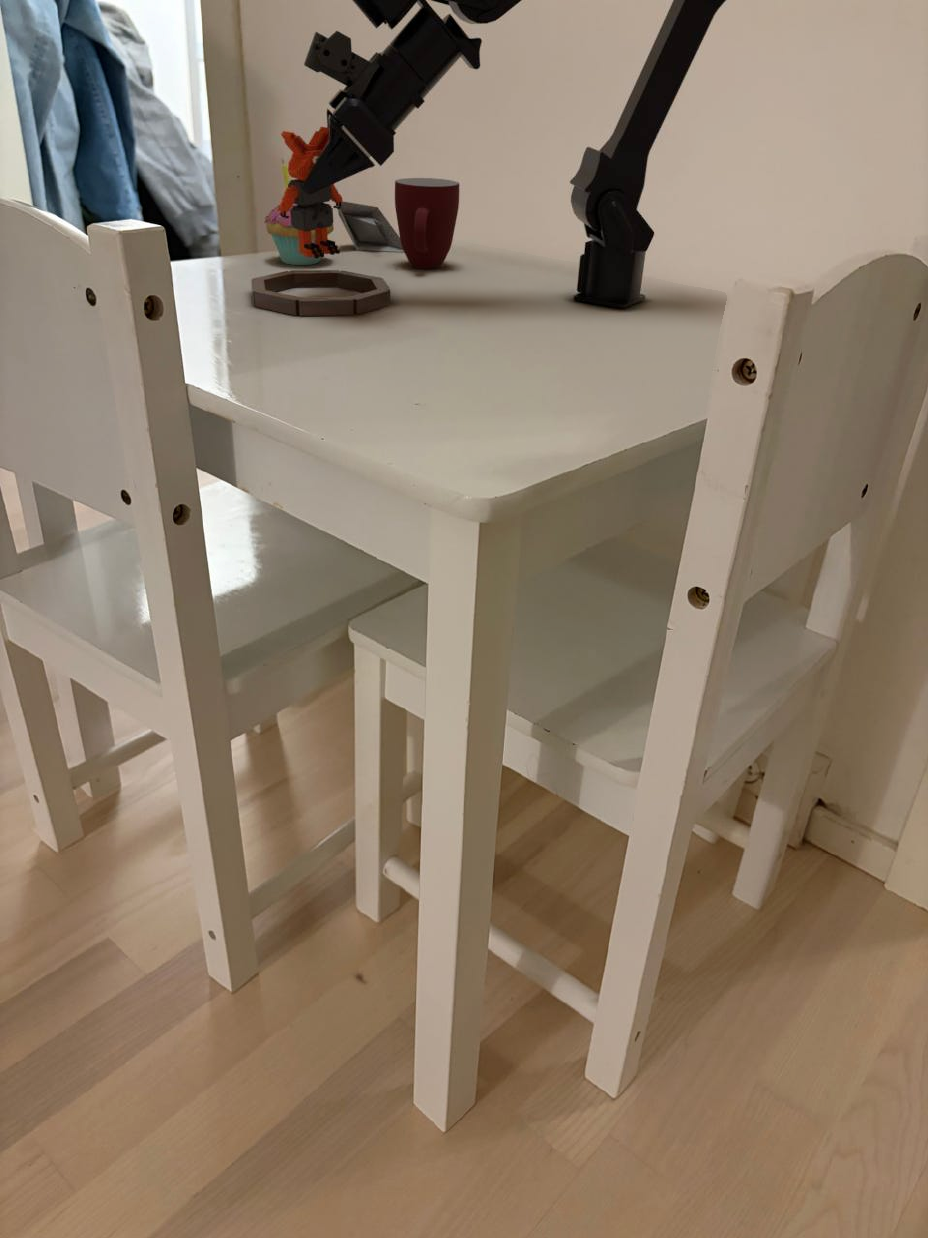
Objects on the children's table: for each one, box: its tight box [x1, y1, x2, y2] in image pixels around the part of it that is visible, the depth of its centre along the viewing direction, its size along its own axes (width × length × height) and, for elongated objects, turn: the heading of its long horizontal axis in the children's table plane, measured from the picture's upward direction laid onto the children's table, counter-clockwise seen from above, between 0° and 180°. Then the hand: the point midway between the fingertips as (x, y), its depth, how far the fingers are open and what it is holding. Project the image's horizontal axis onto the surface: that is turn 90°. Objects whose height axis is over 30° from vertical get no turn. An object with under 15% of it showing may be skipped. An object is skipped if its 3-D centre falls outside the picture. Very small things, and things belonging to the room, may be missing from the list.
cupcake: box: [264, 157, 335, 266], centre depth 120 cm, size 9×8×12 cm
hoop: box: [250, 269, 391, 317], centre depth 105 cm, size 15×15×2 cm
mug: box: [394, 177, 460, 270], centre depth 120 cm, size 10×8×10 cm
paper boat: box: [337, 200, 404, 253], centre depth 129 cm, size 12×6×9 cm
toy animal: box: [278, 126, 343, 258], centre depth 100 cm, size 8×5×12 cm
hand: (305, 186), depth 100 cm, fingers closed on toy animal, 5 cm apart
